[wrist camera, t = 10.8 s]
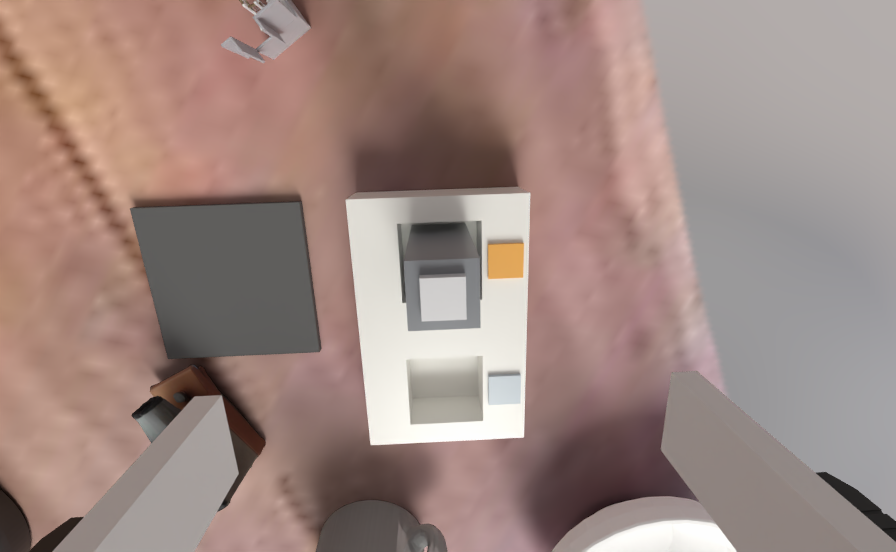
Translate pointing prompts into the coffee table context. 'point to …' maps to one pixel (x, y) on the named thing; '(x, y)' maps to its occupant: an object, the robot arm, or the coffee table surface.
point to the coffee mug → (377, 530)
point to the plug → (442, 278)
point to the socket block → (442, 351)
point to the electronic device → (174, 399)
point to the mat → (229, 278)
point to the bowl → (647, 528)
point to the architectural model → (272, 29)
